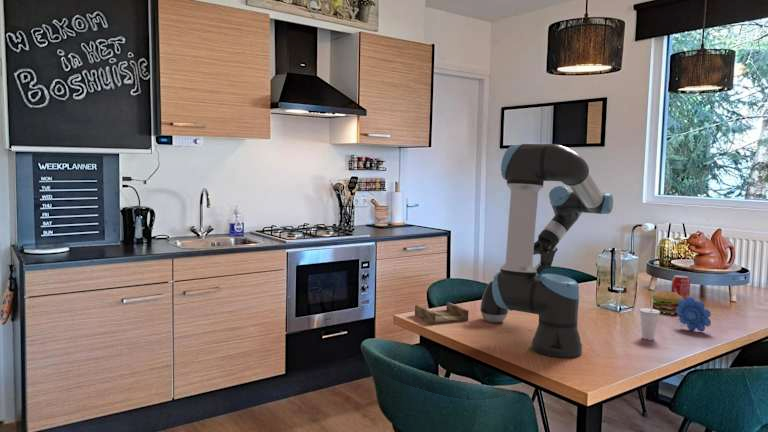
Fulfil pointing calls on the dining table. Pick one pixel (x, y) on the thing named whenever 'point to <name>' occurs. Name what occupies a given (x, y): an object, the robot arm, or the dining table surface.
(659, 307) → the food
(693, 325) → the blue gear
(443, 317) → the track
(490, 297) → the pump dispenser
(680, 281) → the soda can
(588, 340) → the dining table surface
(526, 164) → the robot arm
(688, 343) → the dining table surface
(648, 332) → the smoothie
